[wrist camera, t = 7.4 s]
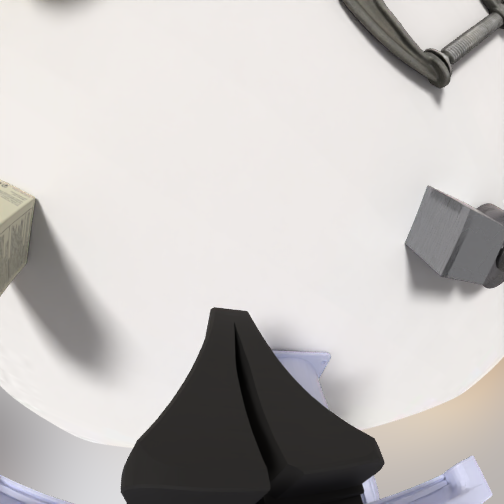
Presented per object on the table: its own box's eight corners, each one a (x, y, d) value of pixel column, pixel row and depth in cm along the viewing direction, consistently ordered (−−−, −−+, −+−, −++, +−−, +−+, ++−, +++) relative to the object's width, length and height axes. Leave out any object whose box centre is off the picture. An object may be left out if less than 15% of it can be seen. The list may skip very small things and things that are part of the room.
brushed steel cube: (470, 205, 21) (508, 228, 17) (449, 255, 23) (482, 284, 19) (427, 185, 20) (470, 208, 15) (404, 243, 22) (440, 276, 17)
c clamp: (452, -76, 8) (468, -83, 5) (531, 69, 15) (549, 72, 13) (290, -47, 11) (301, -65, 9) (422, 154, 19) (444, 162, 17)
